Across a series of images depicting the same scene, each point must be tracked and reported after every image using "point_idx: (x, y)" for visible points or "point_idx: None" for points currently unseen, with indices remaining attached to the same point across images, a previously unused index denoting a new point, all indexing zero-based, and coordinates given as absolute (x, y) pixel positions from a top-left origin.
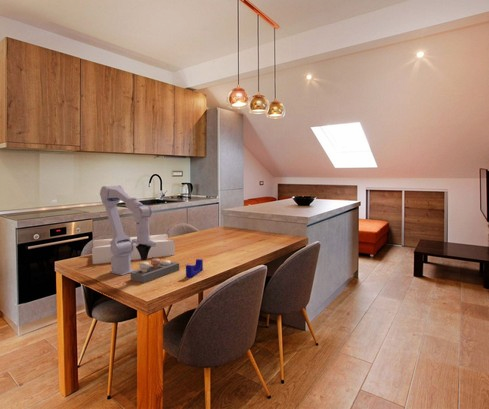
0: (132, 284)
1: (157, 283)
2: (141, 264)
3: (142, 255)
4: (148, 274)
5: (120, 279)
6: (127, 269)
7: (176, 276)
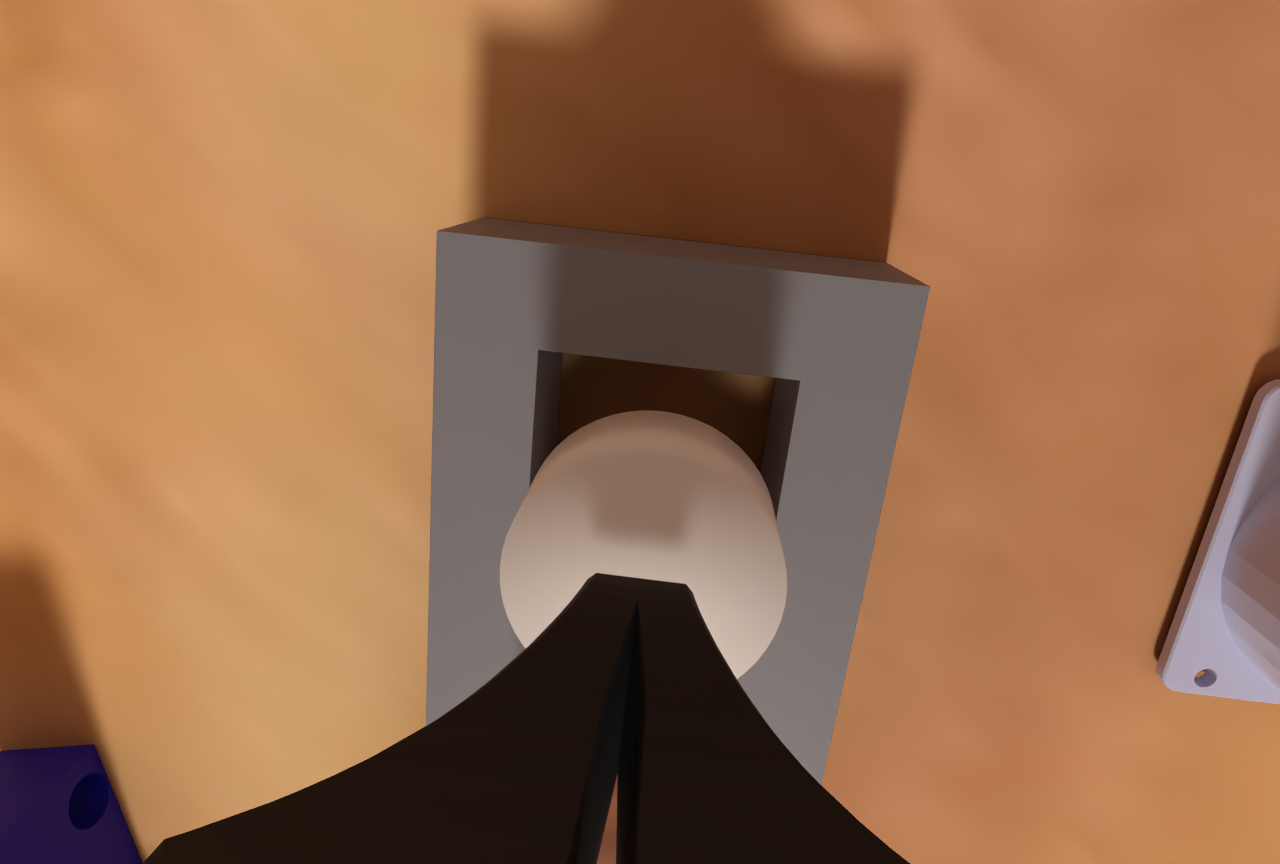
0: (641, 57)
1: (253, 329)
2: (620, 456)
3: (552, 653)
4: (438, 382)
5: (1120, 181)
6: (1275, 567)
7: (255, 726)
